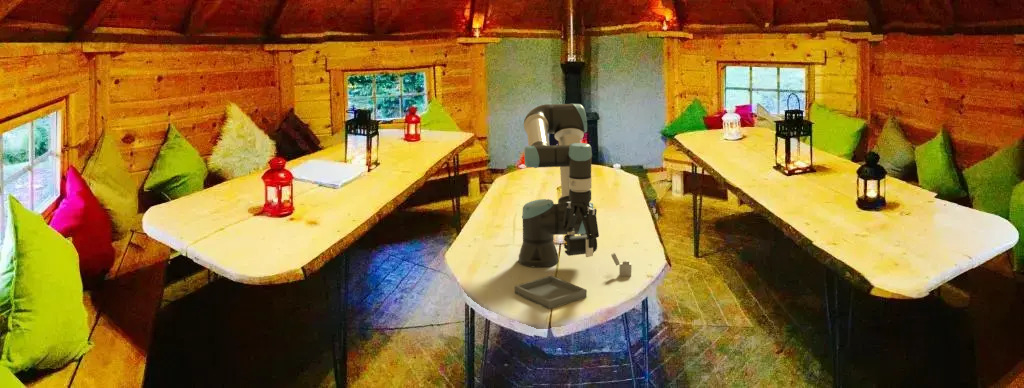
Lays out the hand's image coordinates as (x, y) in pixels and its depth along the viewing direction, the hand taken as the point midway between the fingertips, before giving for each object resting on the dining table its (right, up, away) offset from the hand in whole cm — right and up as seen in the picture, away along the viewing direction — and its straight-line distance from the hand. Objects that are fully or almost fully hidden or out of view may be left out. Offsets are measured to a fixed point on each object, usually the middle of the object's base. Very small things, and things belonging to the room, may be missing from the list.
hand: (580, 252), depth 246 cm
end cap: (0, -1, 0) cm, 1 cm away
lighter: (+15, -9, +8) cm, 20 cm away
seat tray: (-11, -13, -10) cm, 20 cm away
